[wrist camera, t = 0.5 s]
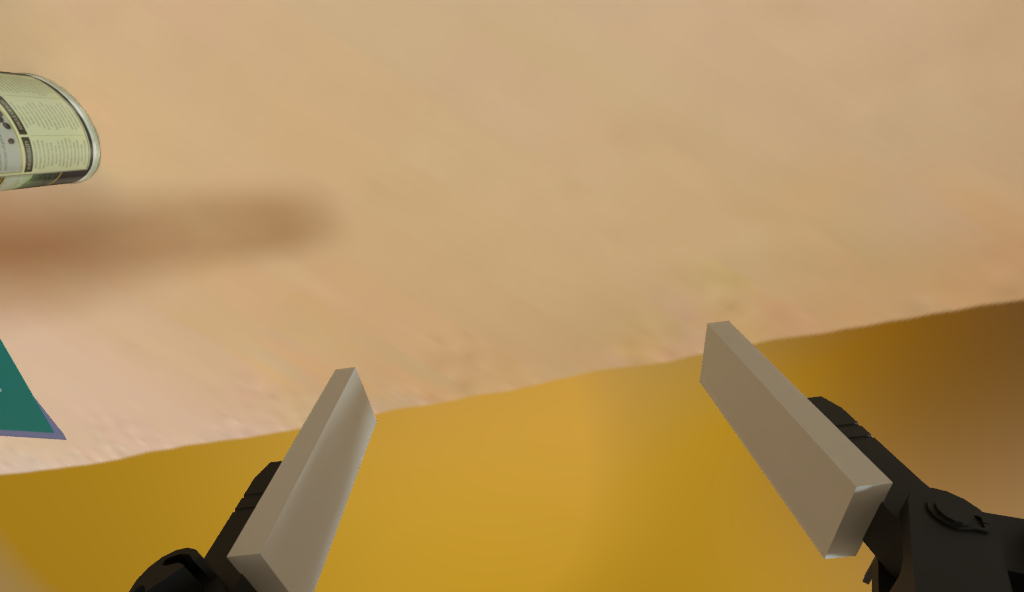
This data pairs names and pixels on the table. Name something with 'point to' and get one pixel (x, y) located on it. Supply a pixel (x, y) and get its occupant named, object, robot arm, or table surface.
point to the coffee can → (43, 134)
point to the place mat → (21, 405)
